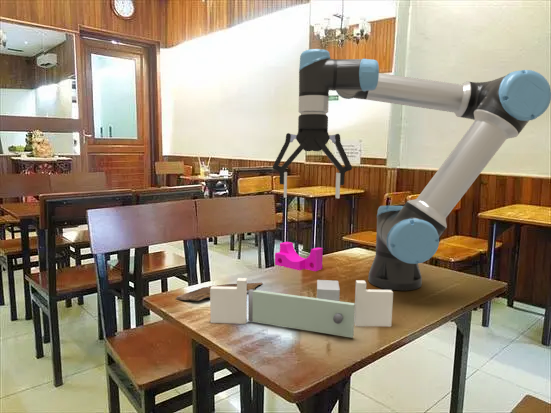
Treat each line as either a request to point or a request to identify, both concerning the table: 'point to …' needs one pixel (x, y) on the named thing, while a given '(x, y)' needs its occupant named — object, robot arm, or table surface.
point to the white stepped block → (328, 290)
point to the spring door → (302, 312)
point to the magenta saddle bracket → (298, 258)
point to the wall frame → (368, 312)
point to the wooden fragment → (205, 292)
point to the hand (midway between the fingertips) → (311, 197)
